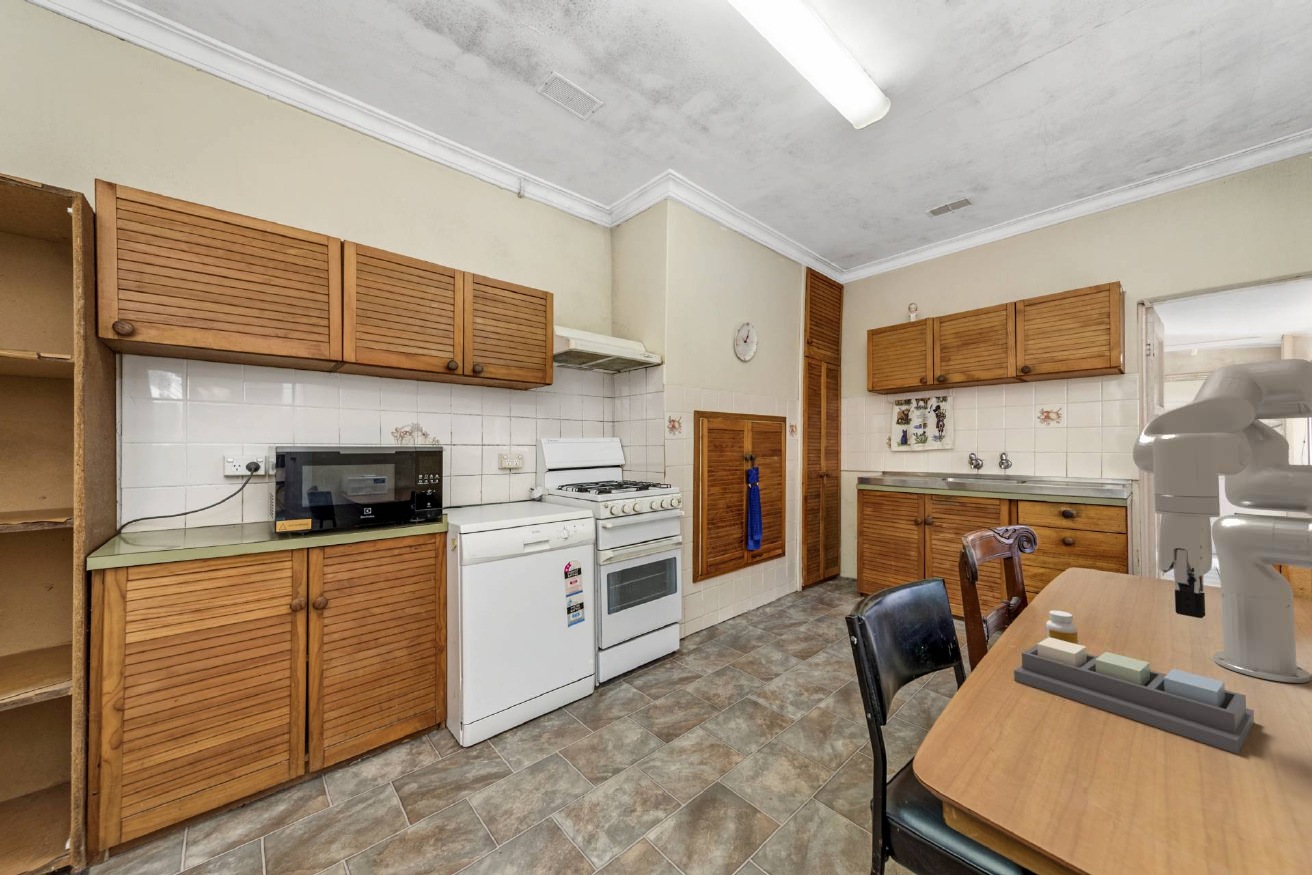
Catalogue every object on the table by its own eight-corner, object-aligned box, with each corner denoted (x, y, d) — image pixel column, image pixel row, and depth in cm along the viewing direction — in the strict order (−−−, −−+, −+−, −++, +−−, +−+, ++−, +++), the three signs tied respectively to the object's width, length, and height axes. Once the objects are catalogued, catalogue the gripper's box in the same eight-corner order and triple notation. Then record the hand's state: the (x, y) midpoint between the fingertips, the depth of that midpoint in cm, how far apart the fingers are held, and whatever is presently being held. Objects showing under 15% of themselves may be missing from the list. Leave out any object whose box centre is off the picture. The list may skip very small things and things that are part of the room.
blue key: (1173, 685, 87) (1172, 668, 87) (1225, 699, 82) (1224, 681, 82) (1164, 695, 83) (1163, 677, 84) (1217, 710, 78) (1217, 691, 79)
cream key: (1049, 651, 102) (1049, 637, 102) (1086, 661, 97) (1086, 646, 97) (1037, 658, 99) (1037, 643, 99) (1075, 669, 94) (1075, 653, 94)
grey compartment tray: (1044, 661, 106) (1043, 638, 106) (1254, 722, 82) (1252, 692, 82) (1014, 680, 98) (1013, 655, 98) (1237, 754, 74) (1236, 720, 74)
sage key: (1106, 667, 94) (1106, 651, 94) (1150, 679, 89) (1149, 662, 89) (1096, 675, 91) (1095, 659, 91) (1140, 688, 86) (1139, 671, 86)
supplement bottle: (1084, 663, 105) (1082, 618, 105) (1055, 662, 106) (1054, 616, 106) (1068, 653, 110) (1067, 609, 110) (1041, 651, 111) (1040, 608, 111)
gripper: (1166, 501, 91) (1170, 602, 90) (1143, 506, 82) (1146, 617, 82) (1228, 505, 84) (1232, 613, 84) (1209, 511, 76) (1214, 630, 76)
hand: (1190, 614), depth 83 cm, fingers closed
